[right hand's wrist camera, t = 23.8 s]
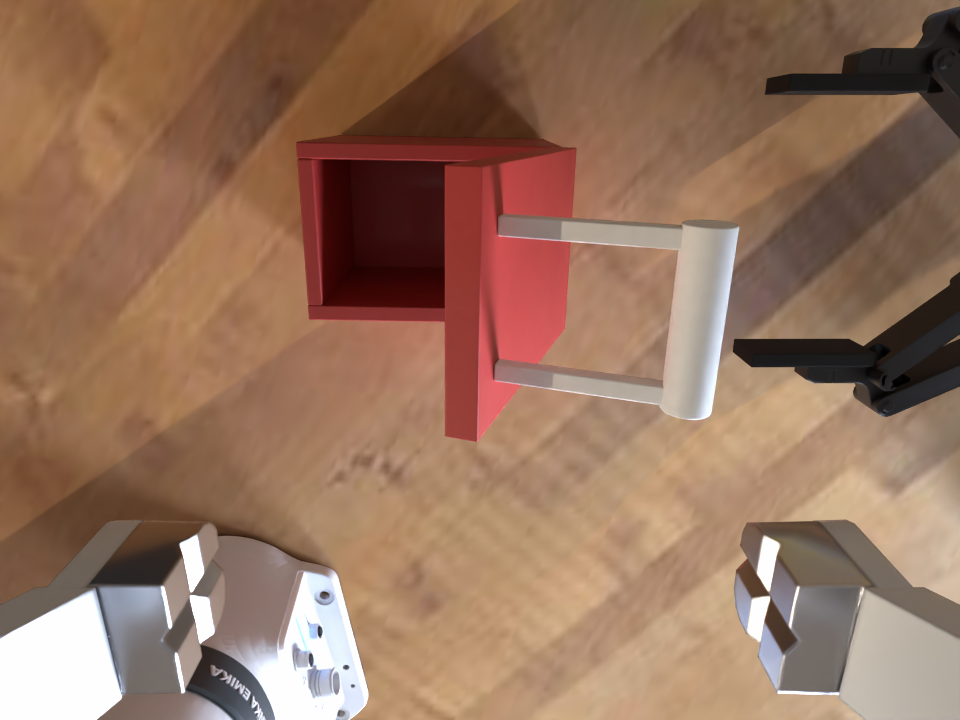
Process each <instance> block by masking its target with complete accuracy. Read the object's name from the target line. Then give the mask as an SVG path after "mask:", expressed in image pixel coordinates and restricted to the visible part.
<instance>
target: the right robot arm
mask: <svg viewBox="0 0 960 720" xmlns="http://www.w3.org/2000/svg"><path fill="white" fill-rule="evenodd" d="M740 546H741V548H742V550H743V551H744V553H745V555H746V556H747V558H748V559H747V560H746V561H745V562H744V563H743V564H742V565H741V566H740V567H739V568H738V569H737V570H736V576H735V584H734V594H735V605H736V610H737V613H738V617H739V620H740V622H741V624H742V626H743V628H744V630H745V632H746V634H747V635H749V636H750V637H752V638H753V639H755V640H756V641H757V642H759V643H760V646H759V652H758V658H759V660H760V662H761V664H762V666H763V668H764V670H765V671H766V673H767V675H768V677H769V679H770V681H771V683H772V685H773V687H774V689H775V691H776V693H789V694H825V695H838V698H839V699H840V700H841V701H842V702H844V703H845V704H846V705H847V706H848V707H850V708H851V709H852V710H853V711H854V712H856V713H857V714H858V715H859V716H861V717H862V718H863V719H864V720H960V605H959V604H957V603H955V602H953V601H951V600H949V599H947V598H945V597H943V596H941V595H939V594H937V593H935V592H933V591H930V590H928V589H926V588H924V587H912V585H911V584H910V583H909V582H908V581H907V580H906V579H905V578H904V577H903V576H902V575H901V573H900V572H899V571H898V570H897V569H896V568H895V567H894V566H893V565H892V564H891V563H890V562H889V560H888V559H887V558H886V557H885V556H884V555H883V554H882V553H881V552H880V551H879V550H878V548H877V547H876V546H875V545H874V544H873V543H872V542H871V541H870V540H869V539H868V538H867V537H866V535H865V534H864V533H863V532H862V531H861V530H860V529H859V528H858V527H857V526H856V525H855V524H854V523H852V522H850V521H848V520H820V521H801V522H749V523H746V526H745V528H744V530H743V532H742V538H741V544H740ZM322 591H326V592H328V593H329V594H325V593H323V592H322ZM367 699H368V689H367V685H366V681H365V678H364V674H363V670H362V666H361V662H360V659H359V655H358V651H357V647H356V644H355V640H354V636H353V632H352V628H351V625H350V621H349V617H348V613H347V610H346V606H345V602H344V598H343V594H342V591H341V587H340V583H339V579H338V576H337V574H336V573H335V572H334V571H333V570H332V569H330V568H328V567H326V566H322V565H318V564H314V563H309V562H303V561H300V560H297V559H295V558H293V557H291V556H289V555H288V554H286V553H284V552H283V551H281V550H279V549H277V548H275V547H273V546H271V545H269V544H266V543H264V542H261V541H258V540H254V539H250V538H245V537H239V536H218V534H217V529H216V527H215V526H214V525H213V524H212V523H211V522H208V521H160V520H147V521H144V520H114V521H111V522H107V523H106V524H105V525H104V526H103V527H102V528H101V529H100V530H99V531H98V532H97V533H96V534H95V535H94V537H93V538H92V539H91V540H90V541H89V542H88V543H87V544H86V545H85V546H84V547H83V549H82V550H81V551H80V552H79V553H78V554H77V555H76V556H75V557H74V558H73V559H72V560H71V562H70V563H69V564H68V565H67V566H66V567H65V568H64V569H63V570H62V571H61V572H60V573H59V575H58V576H57V577H56V578H55V579H54V580H53V581H52V582H51V583H50V584H49V585H48V586H47V587H36V588H34V589H32V590H30V591H27V592H25V593H23V594H21V595H19V596H17V597H15V598H13V599H11V600H9V601H7V602H5V603H3V604H1V605H0V720H350V719H351V718H352V717H354V716H355V715H356V714H357V713H358V712H360V711H361V709H362V708H363V707H364V706H365V705H366V702H367ZM342 710H343V711H342Z"/></svg>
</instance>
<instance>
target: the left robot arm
mask: <svg viewBox="0 0 960 720" xmlns="http://www.w3.org/2000/svg"><path fill="white" fill-rule="evenodd" d="M922 32H923V36H922V38H921V40H920V41H919V43H918V44H917V45H916V46H915V47H914V48H870V49H866V50H861V51H857V52H854V53H851V54H849V55H846V56H844V62H843V68H842V74H787V75H782V76H777V77H772V78H767V83H766V91H765V95H897V94H906V93H916V92H918V93H919V94H920V95H921V96H922V97H923V98H924V99H925V100H926V101H927V103H928V104H929V105H930V106H931V107H932V108H933V109H934V110H935V111H936V113H937V114H938V115H939V116H940V117H941V118H942V119H943V120H944V121H945V123H946V124H947V125H948V126H949V127H950V128H951V129H952V130H953V132H954V133H955V134H956V135H957V136H958V137H959V138H960V7H956V8H952V9H948V10H945V11H941V12H937V13H934V14H932V15H930V16H928V17H927V19H926V20H925V21H924V23H923V27H922ZM959 334H960V272H959V273H958V274H956V275H955V276H953V277H952V278H951V280H950V285H949V286H948V287H947V288H945V289H944V290H942V291H941V292H940V293H938V294H937V295H935V296H934V297H932V298H931V299H930V300H928V301H927V302H925V303H924V304H923V305H921V306H920V307H918V308H917V309H915V310H914V311H913V312H911V313H910V314H908V315H907V316H906V317H904V318H903V319H901V320H900V321H898V322H897V323H896V324H894V325H893V326H891V327H890V328H889V329H887V330H886V331H884V332H883V333H882V334H880V335H879V336H877V337H876V338H874V339H873V340H872V341H870V342H869V343H867V344H866V345H865V346H861V345H859V344H858V343H856V342H854V341H852V340H850V339H734V346H733V352H734V353H735V354H736V355H737V356H739V357H740V358H741V359H742V360H743V361H745V362H746V363H747V364H748V365H749V366H751V367H795V372H796V373H798V374H799V375H800V376H802V377H803V378H805V379H806V380H808V381H811V382H813V383H855V385H856V386H855V388H854V390H853V395H854V397H855V398H856V399H857V400H859V401H860V402H862V403H863V404H865V405H866V406H868V407H869V408H871V409H872V410H873V411H875V412H877V413H878V414H880V415H881V416H885V417H888V416H891V415H894V414H896V413H898V412H901V411H903V410H905V409H908V408H910V407H912V406H915V405H917V404H920V403H922V402H924V401H927V400H929V399H931V398H934V397H936V396H938V395H941V394H943V393H945V392H948V391H950V390H952V389H955V388H957V387H960V339H959V340H956V341H954V342H952V343H949V344H947V345H945V344H946V343H948V342H949V341H951V340H952V339H954V338H955V337H957V336H958V335H959ZM944 345H945V346H944ZM942 346H943V347H942Z"/></svg>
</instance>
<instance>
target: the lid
mask: <svg viewBox="0 0 960 720" xmlns="http://www.w3.org/2000/svg"><path fill="white" fill-rule="evenodd" d="M575 163H576V148H567V147H550V148H544V149H538V150H532V151H526V152H520V153H514V154H508V155H502V156H495V157H489V158H483V159H477V160H471V161H465V162H459V163H453V164H447V165H445V436H447V437H452V438H458V439H464V440H469V441H475V442H477V441H478V440H479V439H480V438H481V436H482V435H483V434H484V432H485V431H486V430H487V429H488V427H489V426H490V425H491V423H492V422H493V421H494V420H495V418H496V417H497V416H498V414H499V413H500V412H501V410H502V409H503V408H504V407H505V405H506V404H507V403H508V401H509V400H510V399H511V398H512V396H513V395H514V394H515V392H516V391H517V390H518V389H519V387H520V386H521V385H526V386H533V387H540V388H546V389H553V390H560V391H567V392H574V393H581V394H588V395H595V396H601V397H608V398H615V399H622V400H629V401H636V402H643V403H650V404H656V405H660V408H661V409H662V411H664V412H665V413H667V414H668V415H671V416H674V417H677V418H682V419H690V420H697V419H704V418H707V417H708V416H710V414H711V412H712V405H713V398H714V392H715V385H716V378H717V372H718V365H719V358H720V352H721V345H722V338H723V332H724V325H725V318H726V312H727V305H728V298H729V292H730V285H731V278H732V272H733V265H734V258H735V252H736V245H737V238H738V232H739V225H737V224H734V223H730V222H725V221H716V220H687V221H684V222H682V225H671V224H656V223H640V222H625V221H610V220H595V219H580V218H572V210H573V194H574V179H575ZM570 242H581V243H594V244H607V245H620V246H633V247H646V248H659V249H672V250H679V251H678V259H677V267H676V276H675V284H674V292H673V301H672V309H671V317H670V325H669V334H668V342H667V350H666V359H665V367H664V375H663V381H661V380H654V379H646V378H639V377H631V376H624V375H617V374H609V373H602V372H594V371H587V370H579V369H572V368H565V367H557V366H550V365H542V364H538V363H539V361H540V360H541V359H542V357H543V356H544V355H545V354H546V352H547V351H548V350H549V348H550V347H551V346H552V345H553V343H554V342H555V341H556V339H557V338H558V337H559V336H560V334H561V333H562V332H563V330H564V329H565V319H566V304H567V288H568V272H569V257H570Z"/></svg>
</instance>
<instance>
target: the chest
mask: <svg viewBox="0 0 960 720" xmlns="http://www.w3.org/2000/svg"><path fill="white" fill-rule="evenodd" d="M296 147H297V157H298V158H299V159H298V174H299V187H300V201H301V214H302V228H303V242H304V255H305V269H306V282H307V296H308V304H309V305H308V312H309V319H310V320H364V321H423V322H445V165H447V164H453V163H459V162H465V161H471V160H477V159H483V158H489V157H495V156H502V155H508V154H514V153H520V152H526V151H532V150H538V149H544V148H550V147H560V146H558V145H556V144H553V143H551V142H548V141H546V140H544V139H519V138H465V137H410V136H356V135H338V136H332V137H325V138H319V139H312V140H306V141H300V142H297V143H296Z"/></svg>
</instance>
